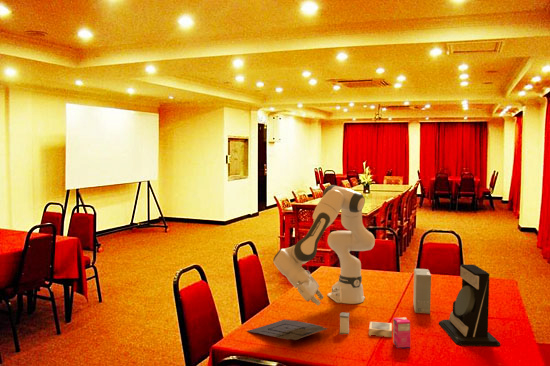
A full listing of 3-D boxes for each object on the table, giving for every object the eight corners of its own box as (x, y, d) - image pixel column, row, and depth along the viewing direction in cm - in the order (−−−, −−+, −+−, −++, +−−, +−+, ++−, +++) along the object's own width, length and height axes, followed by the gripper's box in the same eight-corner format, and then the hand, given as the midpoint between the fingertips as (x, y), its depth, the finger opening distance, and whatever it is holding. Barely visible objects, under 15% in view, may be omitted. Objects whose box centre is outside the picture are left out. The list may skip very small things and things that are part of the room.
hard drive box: (430, 314, 256) (431, 275, 254) (415, 313, 257) (415, 274, 256) (427, 305, 271) (428, 268, 270) (412, 304, 272) (413, 268, 271)
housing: (339, 334, 227) (339, 315, 226) (340, 330, 232) (340, 312, 231) (348, 334, 226) (348, 316, 226) (349, 331, 231) (349, 312, 231)
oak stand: (368, 335, 225) (369, 328, 225) (370, 327, 235) (370, 321, 235) (391, 337, 223) (391, 330, 223) (391, 329, 233) (392, 322, 233)
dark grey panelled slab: (292, 347, 208) (292, 339, 208) (247, 337, 230) (246, 329, 230) (331, 333, 224) (330, 325, 224) (285, 324, 246) (284, 317, 246)
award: (437, 322, 243) (438, 261, 242) (476, 322, 243) (477, 261, 241) (458, 346, 213) (459, 276, 211) (502, 347, 212) (504, 277, 211)
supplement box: (392, 343, 216) (393, 317, 215) (406, 343, 216) (406, 317, 215) (397, 348, 210) (397, 322, 209) (410, 348, 210) (411, 321, 210)
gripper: (300, 280, 222) (322, 303, 220) (308, 269, 242) (328, 291, 240) (290, 289, 223) (312, 312, 221) (299, 278, 243) (319, 299, 241)
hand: (321, 301), depth 231 cm, fingers open, 8 cm apart
